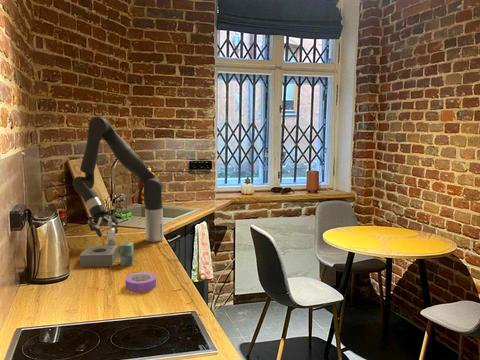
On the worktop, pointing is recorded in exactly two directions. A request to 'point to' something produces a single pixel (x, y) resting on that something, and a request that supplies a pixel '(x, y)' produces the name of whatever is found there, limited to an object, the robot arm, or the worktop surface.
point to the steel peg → (111, 237)
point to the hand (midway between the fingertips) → (108, 234)
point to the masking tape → (140, 282)
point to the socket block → (99, 256)
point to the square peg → (126, 253)
